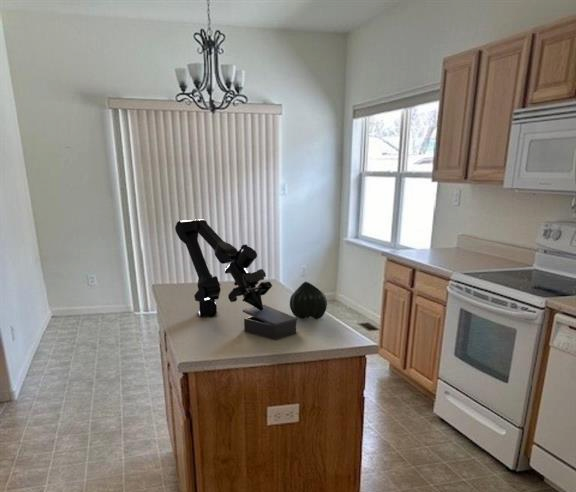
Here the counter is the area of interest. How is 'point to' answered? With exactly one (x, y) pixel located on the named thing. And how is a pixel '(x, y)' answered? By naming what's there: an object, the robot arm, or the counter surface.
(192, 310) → the counter surface
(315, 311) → the squash
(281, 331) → the case
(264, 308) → the cover
